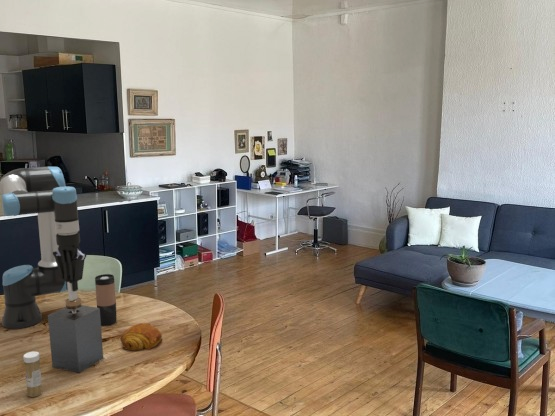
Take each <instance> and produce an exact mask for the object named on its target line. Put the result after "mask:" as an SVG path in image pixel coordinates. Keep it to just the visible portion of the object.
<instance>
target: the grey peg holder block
mask: <svg viewBox="0 0 555 416" xmlns="http://www.w3.org/2000/svg"><path fill="white" fill-rule="evenodd" d="M47 322H48V333H49V334H48V335H49V342H50V355H51V366H52V368H55V369H60V370H63V371H68V372H72V373H77V374H81V373H82V372H84V371H85V370H88V368H90V367H92V366H93V365H95V364H97V363H98V362H101V361H102V360H104V351H103V337H102V336H103V335H102V326H101V319H100V308H97V306H96V307H94V306H89V305H83V304H81V307H80V308H77V309H76V313H75V314H73V313H72V309H67V308H66V306H65V307H63V308H60V309H59V310H58V309H57V310H56V311H54V312H52V313H50V314H48V315H47Z"/></svg>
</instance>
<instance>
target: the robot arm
mask: <svg viewBox="0 0 555 416" xmlns="http://www.w3.org/2000/svg"><path fill="white" fill-rule="evenodd" d="M64 177H65V176H64V174H63V171H62V169H61V168H60V167H58V166H37V167H35V166H34V167H25V168H24V167H22V168H21V167H20V168H17V169H13V170H11V171H8V172H7V173H6V174H4V175H3V176H2V177H1V178H0V195H1V205H2V206H1V207H2V213H3V215H4V216H6V217H9V216H10V217H12V216H13V217H17V216H25V215H32V214H37V223H38V233H39V245H40V254H41V255H40V258H41V260H39V261H38V263H37V267H33V266H32V265H30V264H23V265H18V266H14V267H12V268H9V269H8V270H6V271H4V272H3V274H2V286H3V294H4V295H3V296H4V305H5V307H4V311H3V317H2V319H1V323H2V327H3V328H6V329H11V330H14V329H15V330H16V329H25V328H28V327H29V328H30V327H33V326H35V325H37V324H39V323H40V322H42V321H43V316H42V312H41V310H40V308H39V306H38V304H37V301H36V300H37V299H36V297H37V296H38V297H39V296H45V295H51V294H57V293H58V294H60V293H63V292H67V297H68V298H67V299H69V301H73V300H75V299H78V298H79V297H78V290H79V285H78V282H79V281H81V280H83V276H84V268H85V260H86V258H87V254H86V253H83V252H82V251H81V248H80V243H81V236H80V225H79V223H80V221H79V212H78V210H79V209H78V195H77V190H76V188H75V187H74V186H67V185H66V180H65V178H64Z"/></svg>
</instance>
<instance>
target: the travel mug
mask: <svg viewBox="0 0 555 416" xmlns="http://www.w3.org/2000/svg"><path fill="white" fill-rule="evenodd" d="M94 282H95V283H94V284H95V294H96V295H95V299H96V308H100V319H101V327H109V326H113V325H116V324H117V297H116V286H115V285H116V283H115V276H114V275H113V274H110V273H105V274H100V275H96V276H95V277H94Z"/></svg>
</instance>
